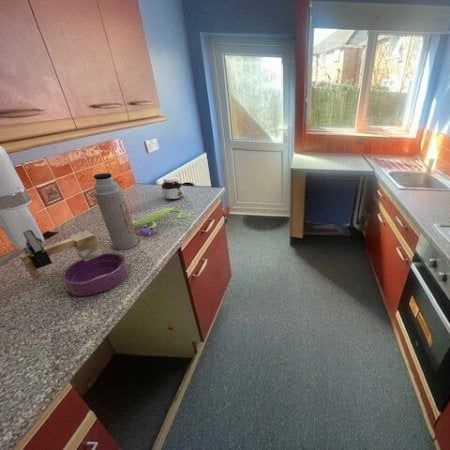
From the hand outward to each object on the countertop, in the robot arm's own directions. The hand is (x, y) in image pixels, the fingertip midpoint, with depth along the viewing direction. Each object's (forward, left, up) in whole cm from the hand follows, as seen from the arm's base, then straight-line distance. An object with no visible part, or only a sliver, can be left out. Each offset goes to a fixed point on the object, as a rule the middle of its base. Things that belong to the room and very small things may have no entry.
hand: (42, 263), depth 66 cm
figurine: (+43, +20, -13) cm, 49 cm away
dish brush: (+5, 0, -3) cm, 6 cm away
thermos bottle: (+25, +15, -13) cm, 32 cm away
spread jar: (+65, +45, -13) cm, 80 cm away
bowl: (+10, 0, -12) cm, 16 cm away
